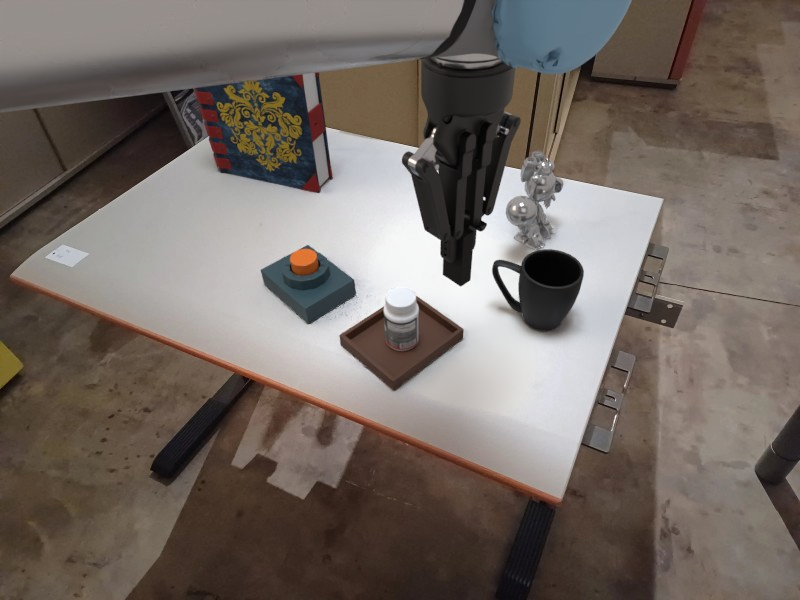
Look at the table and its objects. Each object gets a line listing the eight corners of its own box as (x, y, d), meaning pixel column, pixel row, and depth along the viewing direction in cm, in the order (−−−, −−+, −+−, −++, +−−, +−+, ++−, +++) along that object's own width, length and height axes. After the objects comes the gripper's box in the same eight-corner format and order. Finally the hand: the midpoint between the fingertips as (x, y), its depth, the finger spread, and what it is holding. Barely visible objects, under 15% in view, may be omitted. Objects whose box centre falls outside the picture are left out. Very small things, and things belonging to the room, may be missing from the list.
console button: (324, 267, 83) (322, 257, 81) (302, 280, 81) (300, 269, 79) (308, 255, 85) (306, 245, 83) (286, 267, 83) (284, 256, 82)
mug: (496, 287, 85) (502, 238, 79) (575, 306, 82) (588, 256, 75) (481, 323, 80) (486, 273, 73) (565, 344, 76) (579, 294, 70)
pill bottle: (392, 324, 79) (390, 280, 74) (423, 332, 78) (423, 288, 72) (380, 347, 76) (376, 303, 70) (412, 356, 75) (411, 312, 69)
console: (356, 295, 85) (353, 270, 81) (308, 324, 80) (303, 299, 77) (310, 259, 91) (306, 235, 88) (264, 285, 87) (257, 260, 84)
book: (210, 171, 113) (172, 45, 96) (230, 155, 118) (197, 32, 101) (317, 194, 106) (297, 62, 88) (334, 176, 110) (318, 48, 93)
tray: (393, 391, 71) (393, 381, 70) (340, 344, 77) (339, 335, 76) (463, 338, 78) (464, 329, 76) (408, 299, 84) (408, 289, 82)
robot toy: (525, 271, 88) (538, 190, 77) (490, 257, 90) (499, 177, 80) (563, 225, 96) (580, 146, 86) (531, 214, 99) (543, 136, 89)
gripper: (443, 89, 38) (437, 325, 54) (558, 42, 44) (522, 266, 61) (374, 61, 42) (388, 288, 59) (488, 21, 48) (472, 237, 65)
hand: (456, 277), depth 60 cm, fingers closed
